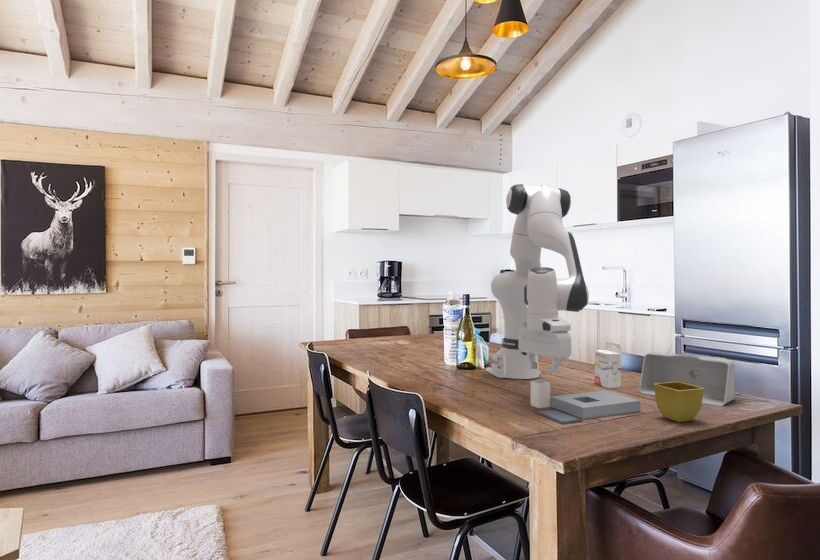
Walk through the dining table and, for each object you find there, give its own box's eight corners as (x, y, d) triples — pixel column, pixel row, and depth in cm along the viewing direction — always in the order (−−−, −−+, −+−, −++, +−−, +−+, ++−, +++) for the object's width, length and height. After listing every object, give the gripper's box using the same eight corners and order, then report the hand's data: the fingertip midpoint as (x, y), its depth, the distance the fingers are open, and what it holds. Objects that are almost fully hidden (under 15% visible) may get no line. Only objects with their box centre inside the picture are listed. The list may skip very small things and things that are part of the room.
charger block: (530, 405, 159) (530, 379, 158) (541, 403, 160) (541, 378, 160) (538, 408, 155) (538, 381, 155) (550, 406, 156) (550, 380, 156)
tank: (740, 398, 168) (741, 357, 167) (724, 407, 157) (725, 364, 156) (658, 385, 186) (658, 349, 185) (638, 393, 175) (638, 354, 174)
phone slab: (535, 415, 150) (535, 411, 150) (554, 412, 152) (554, 408, 152) (562, 426, 138) (562, 422, 138) (582, 424, 141) (582, 420, 141)
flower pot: (704, 422, 140) (705, 387, 140) (678, 425, 138) (679, 390, 137) (677, 413, 149) (678, 381, 149) (652, 416, 146) (652, 383, 146)
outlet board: (550, 406, 156) (550, 396, 156) (604, 400, 164) (604, 390, 164) (583, 419, 143) (583, 407, 143) (640, 411, 151) (640, 400, 151)
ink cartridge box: (593, 383, 189) (594, 341, 188) (606, 382, 190) (606, 341, 190) (608, 388, 180) (608, 344, 180) (621, 388, 182) (621, 344, 181)
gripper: (512, 321, 165) (513, 366, 165) (556, 326, 146) (557, 377, 146) (529, 320, 168) (530, 365, 168) (574, 325, 149) (575, 375, 149)
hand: (543, 370), depth 157 cm, fingers open, 8 cm apart
